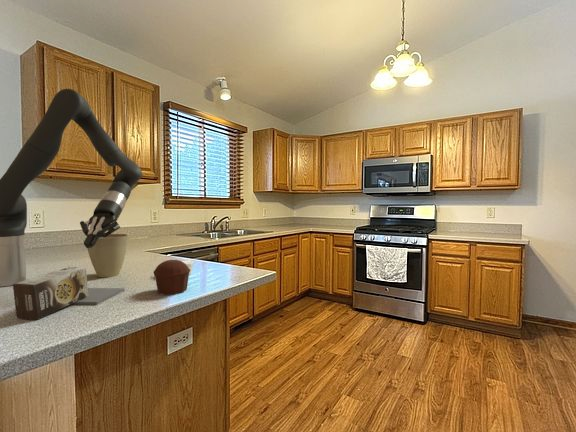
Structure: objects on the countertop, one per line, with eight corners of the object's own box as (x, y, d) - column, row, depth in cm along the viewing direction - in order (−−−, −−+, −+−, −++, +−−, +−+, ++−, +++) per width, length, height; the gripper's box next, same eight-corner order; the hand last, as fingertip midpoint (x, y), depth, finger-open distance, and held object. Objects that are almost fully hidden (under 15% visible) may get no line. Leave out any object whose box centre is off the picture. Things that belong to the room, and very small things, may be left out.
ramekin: (184, 270, 130) (183, 258, 130) (199, 274, 123) (199, 261, 123) (158, 275, 122) (158, 262, 122) (173, 280, 115) (173, 266, 115)
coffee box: (89, 296, 91) (37, 321, 75) (70, 294, 92) (15, 319, 76) (86, 266, 90) (33, 285, 74) (67, 265, 91) (11, 284, 75)
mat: (41, 304, 87) (41, 301, 87) (76, 290, 101) (76, 288, 101) (97, 304, 87) (97, 301, 87) (124, 290, 101) (124, 288, 101)
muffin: (147, 291, 100) (146, 260, 100) (178, 284, 109) (178, 256, 108) (165, 298, 92) (164, 265, 92) (197, 290, 101) (197, 260, 100)
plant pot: (76, 278, 117) (75, 236, 117) (110, 270, 132) (109, 233, 131) (106, 281, 113) (105, 238, 112) (138, 272, 127) (137, 234, 126)
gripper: (87, 198, 104) (60, 238, 92) (125, 198, 104) (103, 239, 92) (97, 213, 110) (73, 253, 98) (133, 214, 109) (113, 253, 98)
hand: (87, 246), depth 95 cm, fingers closed
